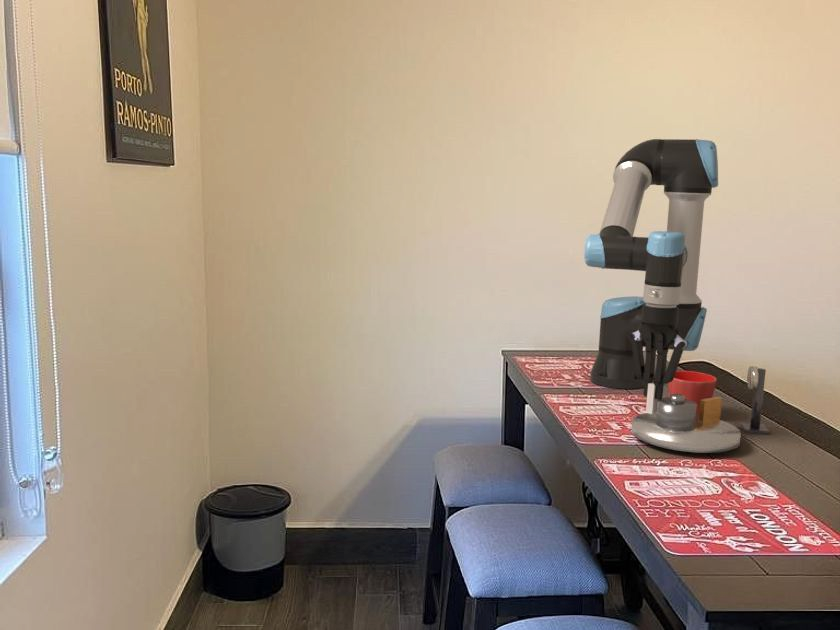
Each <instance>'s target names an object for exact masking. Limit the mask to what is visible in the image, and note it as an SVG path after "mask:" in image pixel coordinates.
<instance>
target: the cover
mask: <svg viewBox="0 0 840 630" xmlns="http://www.w3.org/2000/svg"><path fill="white" fill-rule="evenodd" d="M696 410H697V404H696V403H695V402H693V401H690V400H687V399H685V396H684V395H681V394H671V395H670V397H662V398H660V399H658V401H657V414H656V425H657V426H659V427H661V428H664V429H668V430H674V431H690V430H693V429H695V422H696Z"/></svg>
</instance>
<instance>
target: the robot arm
mask: <svg viewBox="0 0 840 630" xmlns="http://www.w3.org/2000/svg"><path fill="white" fill-rule="evenodd" d="M717 150H718V149H717V145H716V144H715V142H714V141H712V140H708V139H707V140H706V139H698V138H695V139H684V138H683V139H677V138H675V139H672V138H671V139H670V138H669V139H666V138H665V139H663V138H662V139H661V138H654V139H648V140H644V141H643V142H640V143H638V144H636V145H634V146H633V147H631V148H630V149H629V150H628V151H627V152H625V153H624V154H623V156H621V158H620V159H619V160H618V162H617V163H616V165H615V168H614V170H613V174H612V180H613V183H614V184H613V188H612V192H611V194H610V197H609V200H608V204H607V208H606V209H605V210H606V211H605V214H604V217H603V221H602V223H601V228H600V230H599V233H596V234H589V235H588V236H587V238H586V240H585V245H584V252H583V253H584V262H585V264H586V265H587V267H592V268H599V269H603V270H604V269H607V270H612V269H613V270H624V271H625V270H628V271H638V272H639V271H640V272H645V275H644V277H645V278H644V284H643V285H644V286H643V296H632V295H631V296H621V297H620V296H619V297H613V298H612V297H611V298H608V299H606V300H604V301H603V303H602V305H601V309H600V310H601V312H600V316H599V318H600V325H599V326H600V327H599V340H598V352H597V355H596V357H595V360H594V362H593V365H592V368H591V370H590V374H589V380H590V382H591V383H593V384H595V385H597V386H602V387H607V388H612V389H620V390H621V389H622V390H623V389H625V390H626V389H627V390H628V389H629V390H630V389H633V390H634V389H635V390H636V389H641V388H643V397H646V405H645V413H649V414H654V413H656V412H657V401H658V399H660V398H663V395H664V385H666V384H668V383H669V382H672V381H673V379H674V376H675V373H676V371H678V370H677V369H678V367H679V365H680V361H681V359H682V355H683V353H684V351H685V352H686V351H687V352H694V351H696V350H697V349H698V348H699V345H700V342H701V337H702V333H703V330H704V325H705V321H706V320H705V319H706V317H707V312H708V310H707V308H706V307H704V306H702V304H703V303H702V301H703V300H702V299H701V298H700V297H699V296H698V295H697V290H698V279H699V278H698V275H699V265H700V257H701V256H700V255H701V253H700V252H701V243H702V232H703V220H704V218H703V217H704V211H705V210H704V208H705V201H706V200H707V199H708V198H709V197H710V196H711V195H712V189H716V188H718V186H719V164H718V163H719V161H718V151H717ZM655 185H656V186H663V194H664V195H665V196H666V197H667V198H668V211H667V223H666V224H667V225H666V231H663V230H662V231H659V230H658V231H655V230H654V231H651V232H650V233H649V234H648V237H646V236H643V237H642V236H634V233H635V229H636V227H637V222H638V218H639V215H640V211H641V206H642V203H643V199H644V195H645V191H647V190H648V189H649V187H650V186H655ZM644 348H645V358H644ZM669 350H673V351H672V353H671V356H670V360H669V362H668V364H667V361H668V352H669Z"/></svg>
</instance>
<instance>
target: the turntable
mask: <svg viewBox="0 0 840 630" xmlns="http://www.w3.org/2000/svg"><path fill="white" fill-rule="evenodd" d="M722 404H723V397H720V396H714V397H713V396H712V398H707V399H702V400H700V407H699V415H697V414H696V422H695V429H693V430H690V431H674V430H668V429H664V428H661V427H659V426H657V425H656V414H657V412H656V413H654V414H649V413H646V412H645V413H641V414H637V415H636V416H634V417H633V418H632V420H631V429H630V430H631V431H630V432H631V433H632V435H633V436H635V438H637V439H638V440H641V441H642V442H645V443H647V444H650V445H653V446H655V447H659V448H663V449H668V450H672V451H673V450H674V451H680V452H684V453H685V452H686V453H687V452H688V453H698V454H701V453H702V454H706V453H707V454H709V453H711V454H713V453H714V454H715V453H723V452H729V451H732V450H735V449H737V448H738V447H739V446H740V445H741V437H742V435H741V434H742V432H741V430H740V429H739V428H737V426H735V425H733V424H731V423H730V422H727V421H725V420H721V415H722Z"/></svg>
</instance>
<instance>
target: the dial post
mask: <svg viewBox="0 0 840 630" xmlns="http://www.w3.org/2000/svg"><path fill="white" fill-rule="evenodd" d="M766 373H767V372H766V368H762V367H761V368H758V367H757V366H755V365H754V366H749V368H748V370H747V376H746V377H747V379H746V380H747V381H746V382H747V383H746V384H747V388H748V389H749V390H753V392H752V393H753V395H752V405H751V413H750V414H751V416H750V422H749V423H748V422H747V423H745V422H740V428H741V429H742V430H743V432H744V433H745V434H756V435H768V436H769V435H770V430H769V429H768V428H767V426H766V425H765V424H761V420H762V411H763V402H764V401H763V400H764V391H765V380H766Z"/></svg>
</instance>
